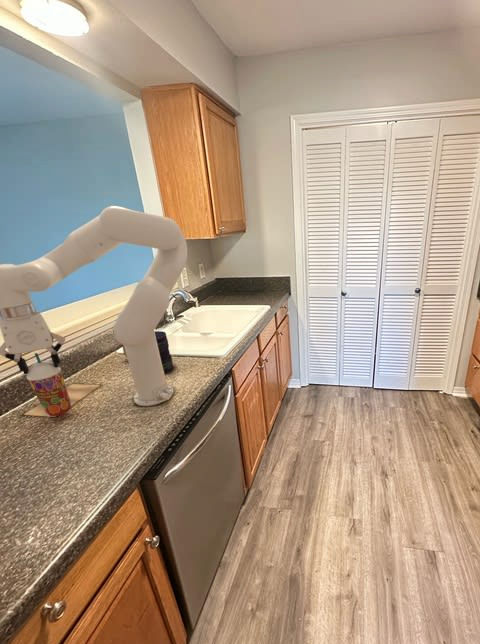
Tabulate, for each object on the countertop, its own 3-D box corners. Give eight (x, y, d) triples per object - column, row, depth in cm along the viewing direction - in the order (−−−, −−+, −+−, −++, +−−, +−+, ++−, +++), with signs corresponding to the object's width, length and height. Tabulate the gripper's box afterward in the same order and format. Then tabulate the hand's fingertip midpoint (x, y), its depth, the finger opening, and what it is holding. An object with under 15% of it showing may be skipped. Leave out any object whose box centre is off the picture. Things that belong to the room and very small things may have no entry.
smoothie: (41, 422, 97) (14, 362, 89) (46, 409, 103) (21, 352, 95) (74, 413, 100) (50, 355, 92) (76, 401, 107) (55, 345, 99)
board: (72, 384, 122) (72, 383, 122) (100, 385, 120) (100, 385, 120) (23, 415, 104) (23, 414, 104) (55, 417, 102) (55, 416, 102)
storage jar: (177, 364, 134) (169, 330, 128) (169, 375, 125) (160, 339, 119) (153, 365, 134) (144, 331, 128) (143, 376, 125) (133, 341, 119)
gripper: (-28, 320, 82) (2, 382, 89) (54, 308, 89) (75, 365, 97) (-20, 313, 88) (8, 372, 95) (57, 302, 95) (77, 357, 103)
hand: (42, 368), depth 96 cm, fingers closed on smoothie, 6 cm apart
